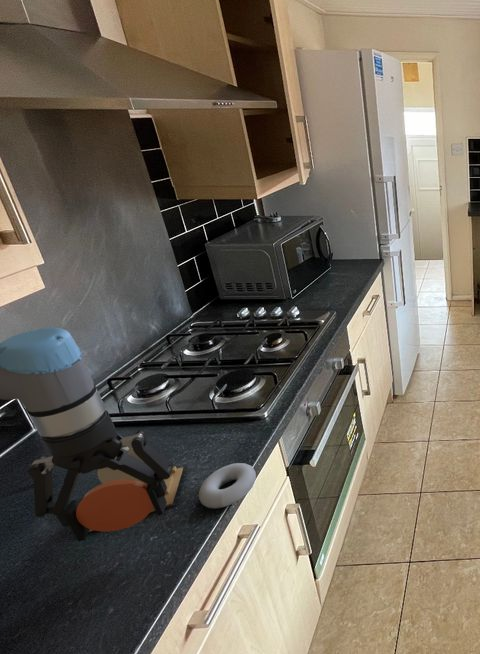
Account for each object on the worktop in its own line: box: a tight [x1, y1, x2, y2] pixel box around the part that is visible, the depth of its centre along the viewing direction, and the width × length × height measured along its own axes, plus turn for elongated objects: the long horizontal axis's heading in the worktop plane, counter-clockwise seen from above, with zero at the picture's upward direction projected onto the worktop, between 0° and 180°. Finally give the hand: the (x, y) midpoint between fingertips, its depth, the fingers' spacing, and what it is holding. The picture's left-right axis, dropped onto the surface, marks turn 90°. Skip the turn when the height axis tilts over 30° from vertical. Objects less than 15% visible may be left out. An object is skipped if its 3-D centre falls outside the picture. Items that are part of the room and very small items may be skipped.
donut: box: [198, 462, 257, 509], centre depth 86 cm, size 10×4×10 cm
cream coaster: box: [96, 446, 147, 484], centre depth 85 cm, size 10×1×10 cm, turn 116°
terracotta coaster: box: [76, 479, 153, 532], centre depth 72 cm, size 10×1×10 cm, turn 116°
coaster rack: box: [88, 465, 184, 533], centre depth 84 cm, size 14×10×2 cm
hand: (125, 521), depth 73 cm, fingers closed on terracotta coaster, 10 cm apart
